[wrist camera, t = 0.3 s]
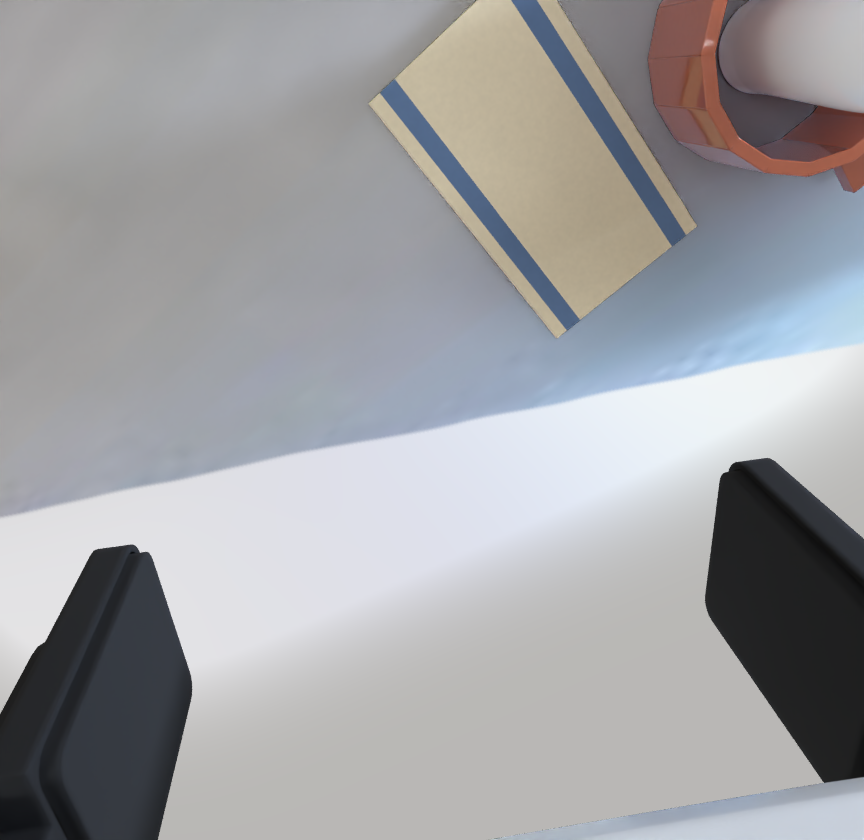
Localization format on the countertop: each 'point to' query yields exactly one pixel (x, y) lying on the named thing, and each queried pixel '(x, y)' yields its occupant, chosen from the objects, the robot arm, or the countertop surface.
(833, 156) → the cooking pot
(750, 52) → the drinking glass
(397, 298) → the countertop surface
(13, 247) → the countertop surface
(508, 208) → the tea towel
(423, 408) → the countertop surface
